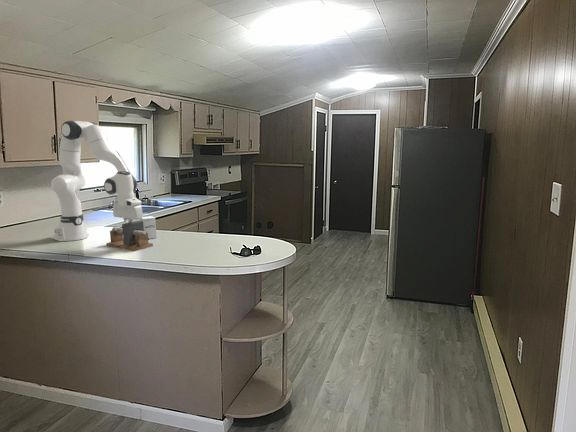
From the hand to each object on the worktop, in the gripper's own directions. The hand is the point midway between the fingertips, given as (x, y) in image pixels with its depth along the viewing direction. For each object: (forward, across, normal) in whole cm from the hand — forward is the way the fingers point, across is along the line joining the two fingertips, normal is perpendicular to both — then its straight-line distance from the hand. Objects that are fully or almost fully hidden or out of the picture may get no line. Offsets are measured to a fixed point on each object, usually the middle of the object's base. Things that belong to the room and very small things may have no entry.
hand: (128, 226), depth 253 cm
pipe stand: (+11, 0, 0) cm, 11 cm away
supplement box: (+12, -6, +19) cm, 23 cm away
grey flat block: (+9, +4, 0) cm, 10 cm away
